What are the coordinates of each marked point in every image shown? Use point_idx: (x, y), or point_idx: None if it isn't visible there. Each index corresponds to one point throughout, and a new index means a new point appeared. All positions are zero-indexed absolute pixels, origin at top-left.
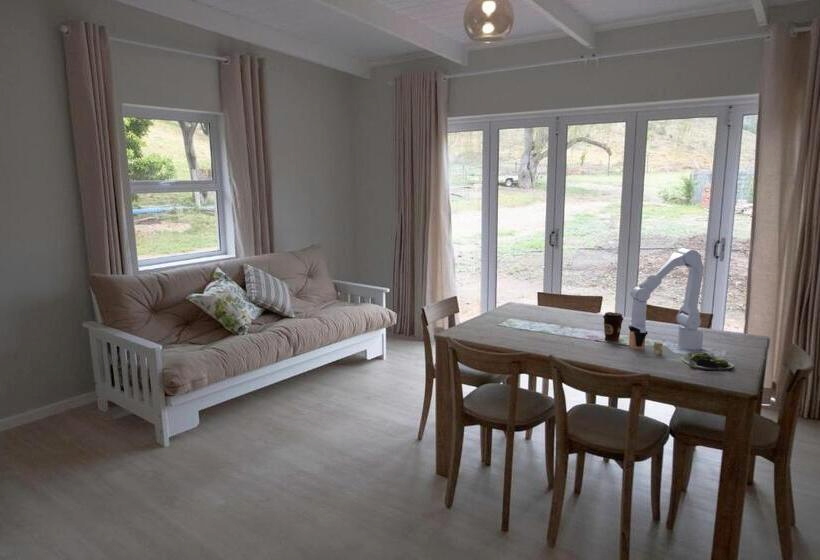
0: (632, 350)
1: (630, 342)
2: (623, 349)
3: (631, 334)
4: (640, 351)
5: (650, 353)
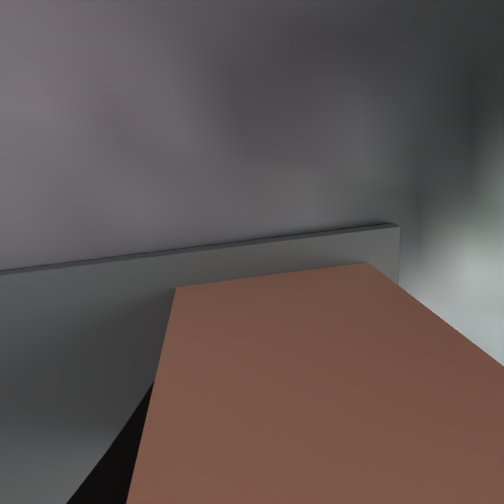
0: (86, 279)
1: (316, 305)
2: (175, 142)
3: (363, 475)
4: (66, 384)
5: (9, 489)
